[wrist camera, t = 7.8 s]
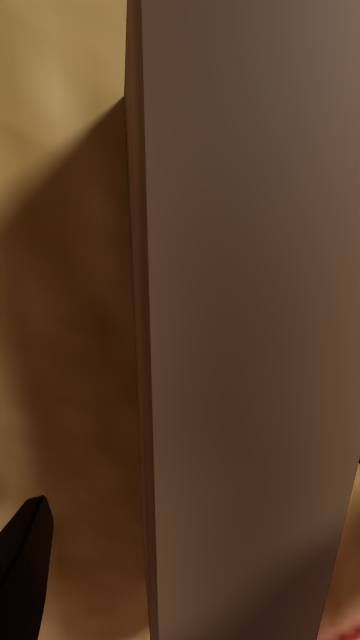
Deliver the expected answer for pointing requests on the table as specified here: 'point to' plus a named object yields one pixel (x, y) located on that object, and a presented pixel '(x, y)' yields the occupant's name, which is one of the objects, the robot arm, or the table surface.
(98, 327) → the table surface
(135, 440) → the table surface
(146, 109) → the walnut slat
